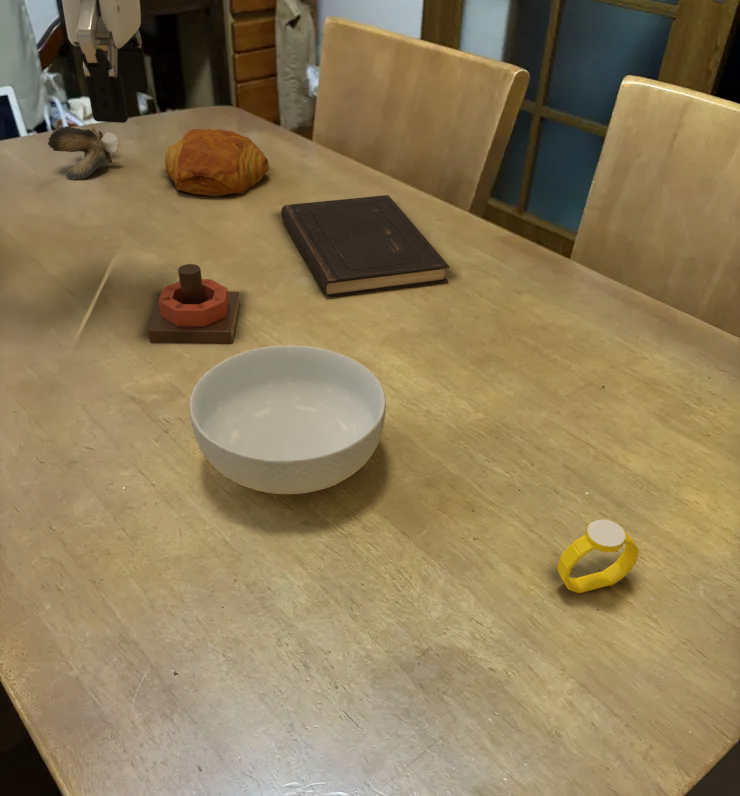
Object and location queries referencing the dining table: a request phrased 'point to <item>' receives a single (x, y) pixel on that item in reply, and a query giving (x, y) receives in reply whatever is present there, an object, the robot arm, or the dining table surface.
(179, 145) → the croissant
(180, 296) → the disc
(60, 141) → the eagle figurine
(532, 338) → the dining table surface
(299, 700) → the dining table surface
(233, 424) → the cereal bowl
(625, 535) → the watch
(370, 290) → the hardcover book
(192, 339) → the stand
